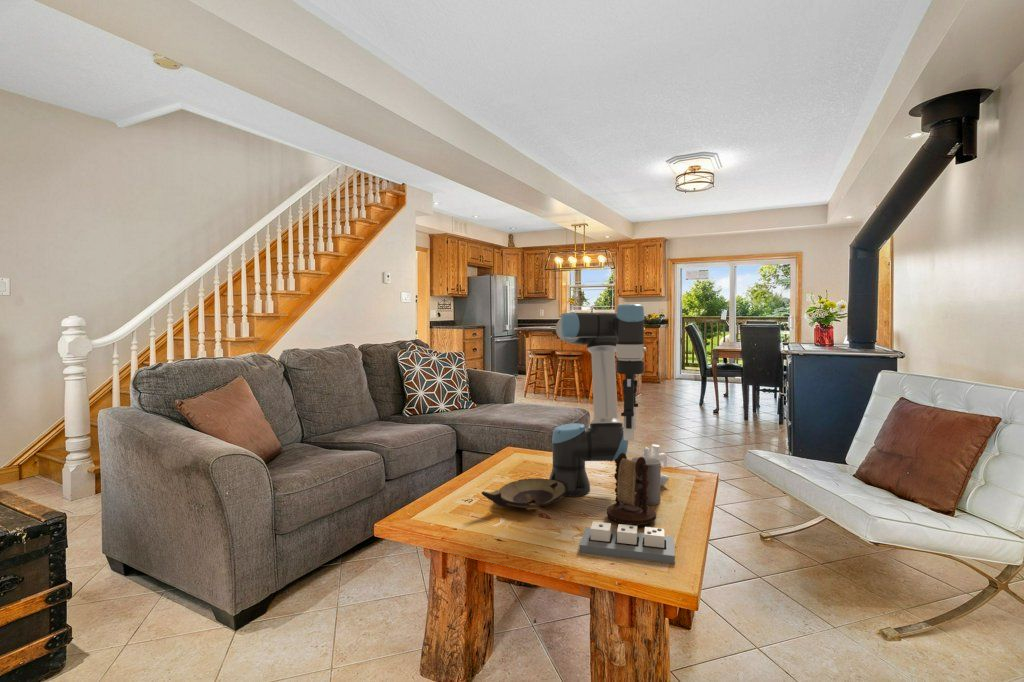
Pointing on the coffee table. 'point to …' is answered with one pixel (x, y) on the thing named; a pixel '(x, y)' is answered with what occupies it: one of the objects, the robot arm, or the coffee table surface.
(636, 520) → the scroll
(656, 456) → the figurine
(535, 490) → the oil lamp
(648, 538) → the white die
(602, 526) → the white die
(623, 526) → the white die
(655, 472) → the pillar candle
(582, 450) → the robot arm
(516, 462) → the coffee table surface
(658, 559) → the button board
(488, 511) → the coffee table surface
